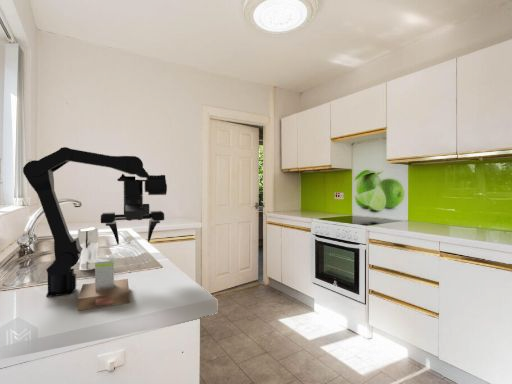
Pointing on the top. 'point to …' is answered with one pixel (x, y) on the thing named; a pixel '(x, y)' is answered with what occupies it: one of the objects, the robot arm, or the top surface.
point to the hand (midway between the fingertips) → (133, 243)
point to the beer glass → (88, 247)
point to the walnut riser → (103, 295)
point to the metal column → (104, 274)
